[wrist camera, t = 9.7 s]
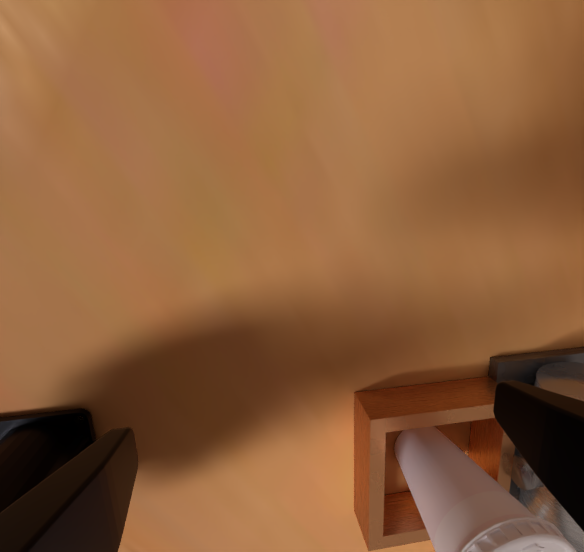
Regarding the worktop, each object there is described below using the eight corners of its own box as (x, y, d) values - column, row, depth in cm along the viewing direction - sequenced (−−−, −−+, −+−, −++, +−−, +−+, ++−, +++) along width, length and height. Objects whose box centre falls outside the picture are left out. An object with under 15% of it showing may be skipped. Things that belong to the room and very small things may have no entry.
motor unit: (354, 526, 26) (399, 661, 18) (354, 372, 23) (409, 458, 15) (574, 489, 28) (694, 595, 21) (600, 345, 25) (752, 407, 18)
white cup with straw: (418, 390, 24) (645, 639, 10) (474, 434, 26) (735, 700, 12) (358, 455, 24) (501, 772, 11) (418, 495, 26) (606, 814, 13)
